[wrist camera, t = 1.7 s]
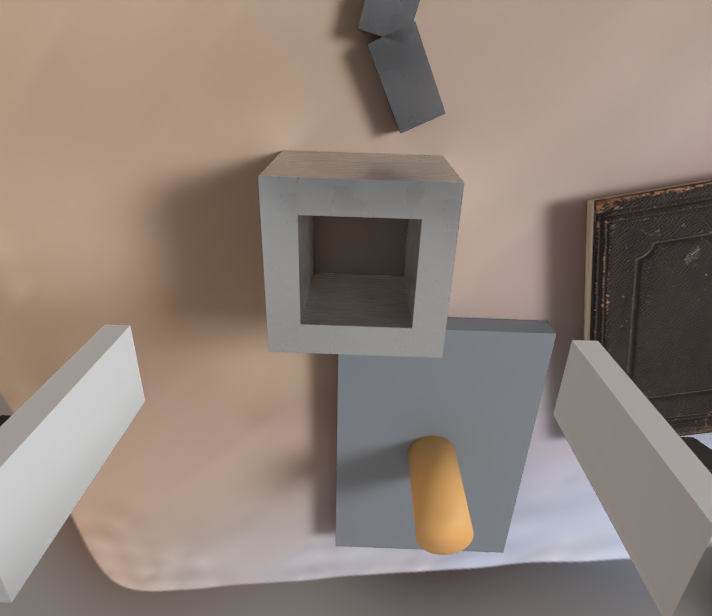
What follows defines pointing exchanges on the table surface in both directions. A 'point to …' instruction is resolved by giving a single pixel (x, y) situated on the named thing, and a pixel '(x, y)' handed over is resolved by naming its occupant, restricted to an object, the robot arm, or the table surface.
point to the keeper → (439, 438)
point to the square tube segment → (358, 291)
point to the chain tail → (401, 61)
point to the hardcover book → (655, 295)
